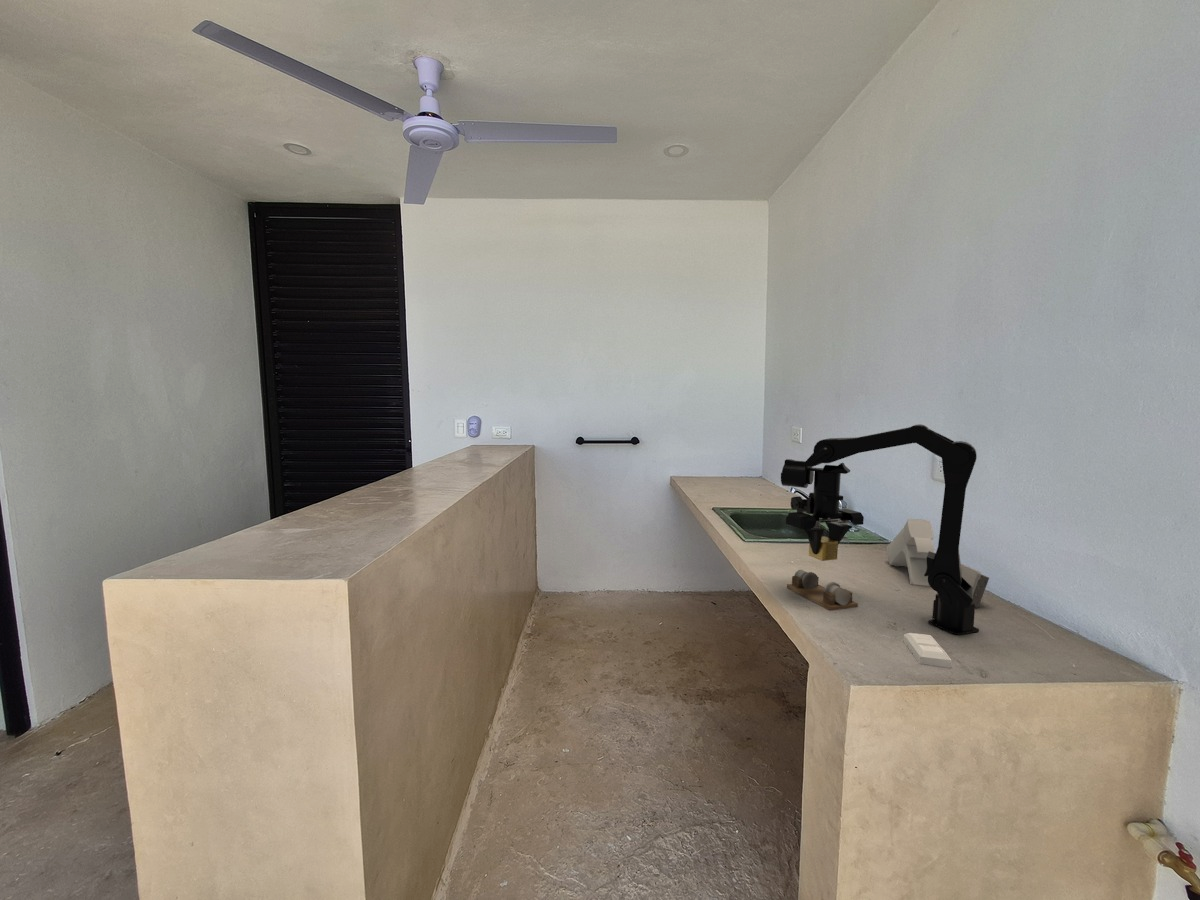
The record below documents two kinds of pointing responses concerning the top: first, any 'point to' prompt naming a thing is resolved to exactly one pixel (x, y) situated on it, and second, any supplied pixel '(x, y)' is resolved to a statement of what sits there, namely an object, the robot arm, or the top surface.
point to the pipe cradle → (821, 591)
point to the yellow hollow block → (826, 549)
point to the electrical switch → (975, 582)
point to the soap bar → (927, 650)
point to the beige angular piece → (912, 549)
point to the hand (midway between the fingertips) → (823, 553)
